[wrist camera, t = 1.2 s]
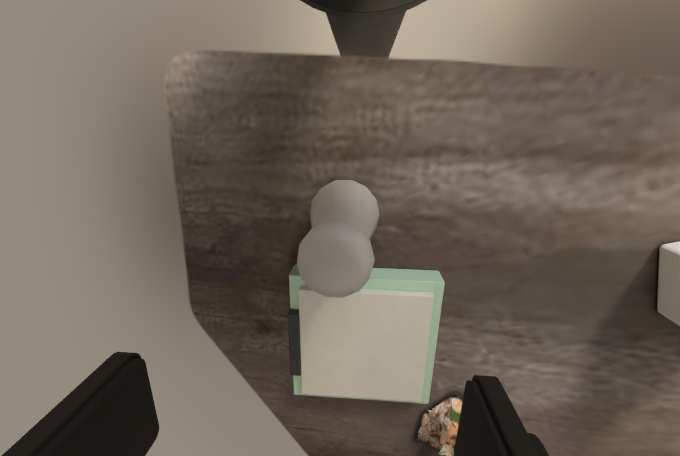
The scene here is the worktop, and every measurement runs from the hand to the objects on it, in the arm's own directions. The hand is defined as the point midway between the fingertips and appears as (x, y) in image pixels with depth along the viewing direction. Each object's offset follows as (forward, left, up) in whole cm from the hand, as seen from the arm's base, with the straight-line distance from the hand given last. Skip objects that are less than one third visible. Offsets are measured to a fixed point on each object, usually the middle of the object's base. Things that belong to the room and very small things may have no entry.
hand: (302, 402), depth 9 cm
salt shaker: (0, 0, -21) cm, 21 cm away
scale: (+13, +2, -21) cm, 25 cm away
